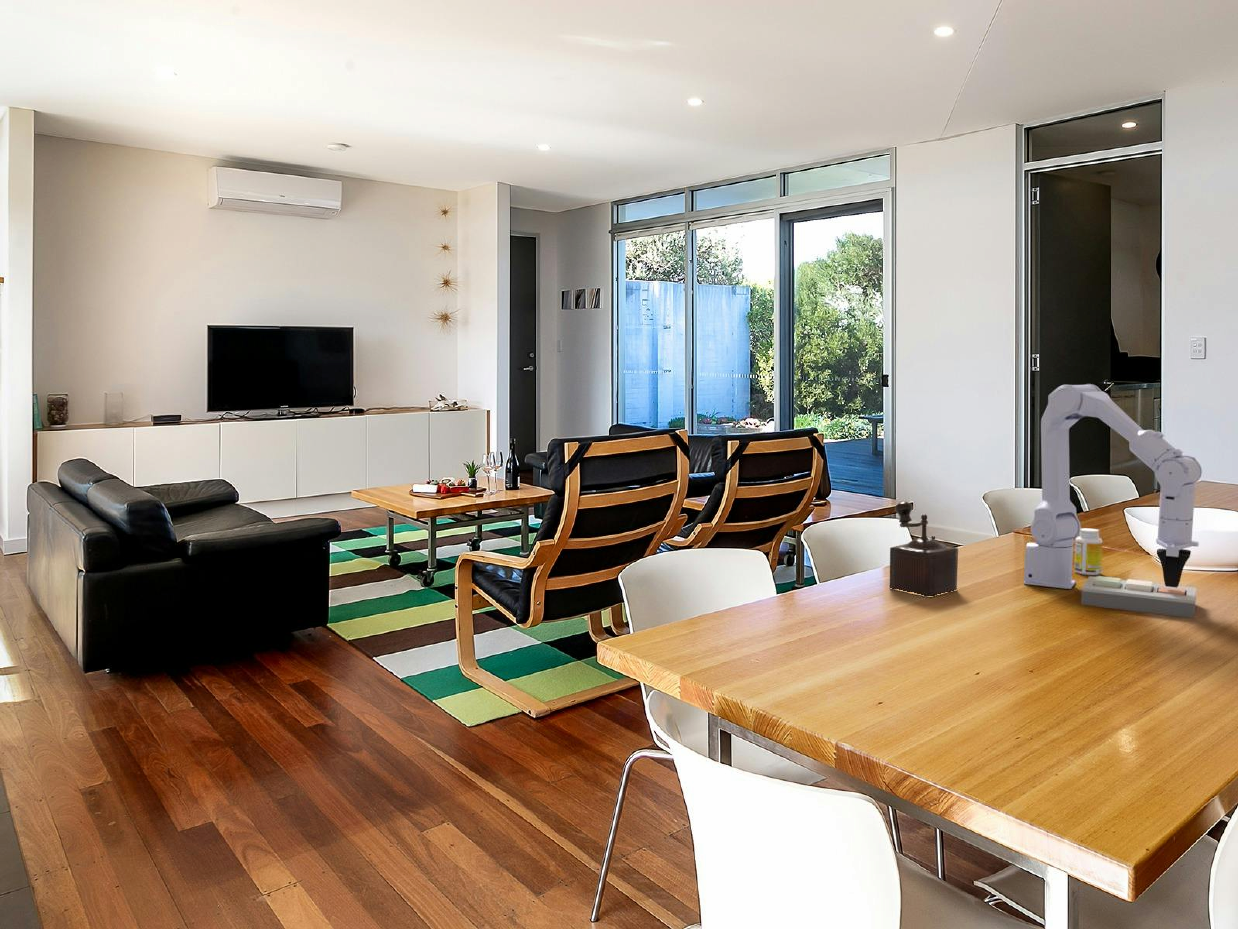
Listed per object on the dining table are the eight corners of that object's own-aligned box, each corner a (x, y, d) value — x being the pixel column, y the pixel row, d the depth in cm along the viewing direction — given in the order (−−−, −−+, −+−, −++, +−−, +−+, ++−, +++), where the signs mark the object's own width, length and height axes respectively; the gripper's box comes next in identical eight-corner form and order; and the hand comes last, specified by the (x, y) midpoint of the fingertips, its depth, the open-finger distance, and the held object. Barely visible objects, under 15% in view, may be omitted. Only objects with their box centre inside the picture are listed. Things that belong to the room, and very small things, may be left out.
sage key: (1093, 590, 185) (1094, 580, 185) (1096, 586, 188) (1096, 575, 188) (1118, 593, 182) (1119, 582, 182) (1120, 588, 186) (1121, 578, 186)
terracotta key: (1157, 601, 179) (1158, 590, 179) (1158, 597, 182) (1159, 586, 182) (1183, 604, 176) (1184, 593, 176) (1184, 600, 180) (1185, 589, 180)
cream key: (1125, 594, 182) (1125, 583, 182) (1127, 589, 185) (1127, 579, 185) (1150, 597, 179) (1151, 586, 179) (1152, 592, 183) (1152, 581, 183)
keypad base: (1081, 604, 183) (1081, 588, 183) (1088, 592, 193) (1089, 576, 193) (1193, 618, 172) (1194, 600, 172) (1195, 604, 182) (1196, 587, 182)
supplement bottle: (1105, 573, 210) (1107, 529, 209) (1094, 577, 207) (1096, 532, 206) (1080, 569, 215) (1082, 526, 214) (1069, 572, 211) (1071, 529, 210)
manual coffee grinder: (960, 590, 195) (963, 507, 193) (929, 598, 189) (931, 512, 187) (900, 577, 208) (902, 499, 206) (868, 584, 201) (870, 504, 199)
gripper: (1199, 525, 169) (1194, 596, 171) (1200, 514, 182) (1196, 581, 183) (1155, 522, 173) (1151, 591, 175) (1159, 511, 185) (1155, 577, 187)
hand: (1171, 586), depth 179 cm, fingers closed
